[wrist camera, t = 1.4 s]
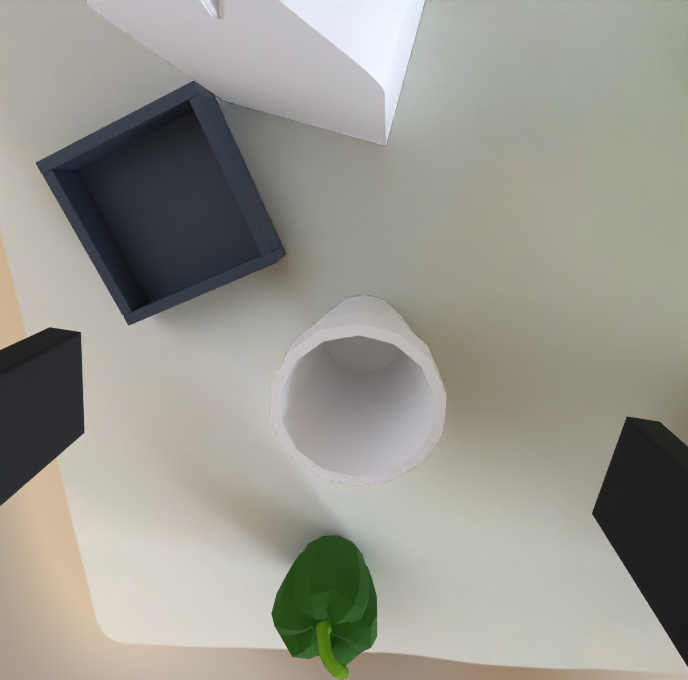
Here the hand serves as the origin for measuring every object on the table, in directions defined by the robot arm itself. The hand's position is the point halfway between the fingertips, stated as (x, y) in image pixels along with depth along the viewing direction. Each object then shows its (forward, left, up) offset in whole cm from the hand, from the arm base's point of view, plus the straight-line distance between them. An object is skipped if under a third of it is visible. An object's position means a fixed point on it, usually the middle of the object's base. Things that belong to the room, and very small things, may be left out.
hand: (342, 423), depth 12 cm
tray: (+8, +12, -26) cm, 30 cm away
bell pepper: (-24, +14, -26) cm, 38 cm away
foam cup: (-6, +3, -26) cm, 27 cm away
